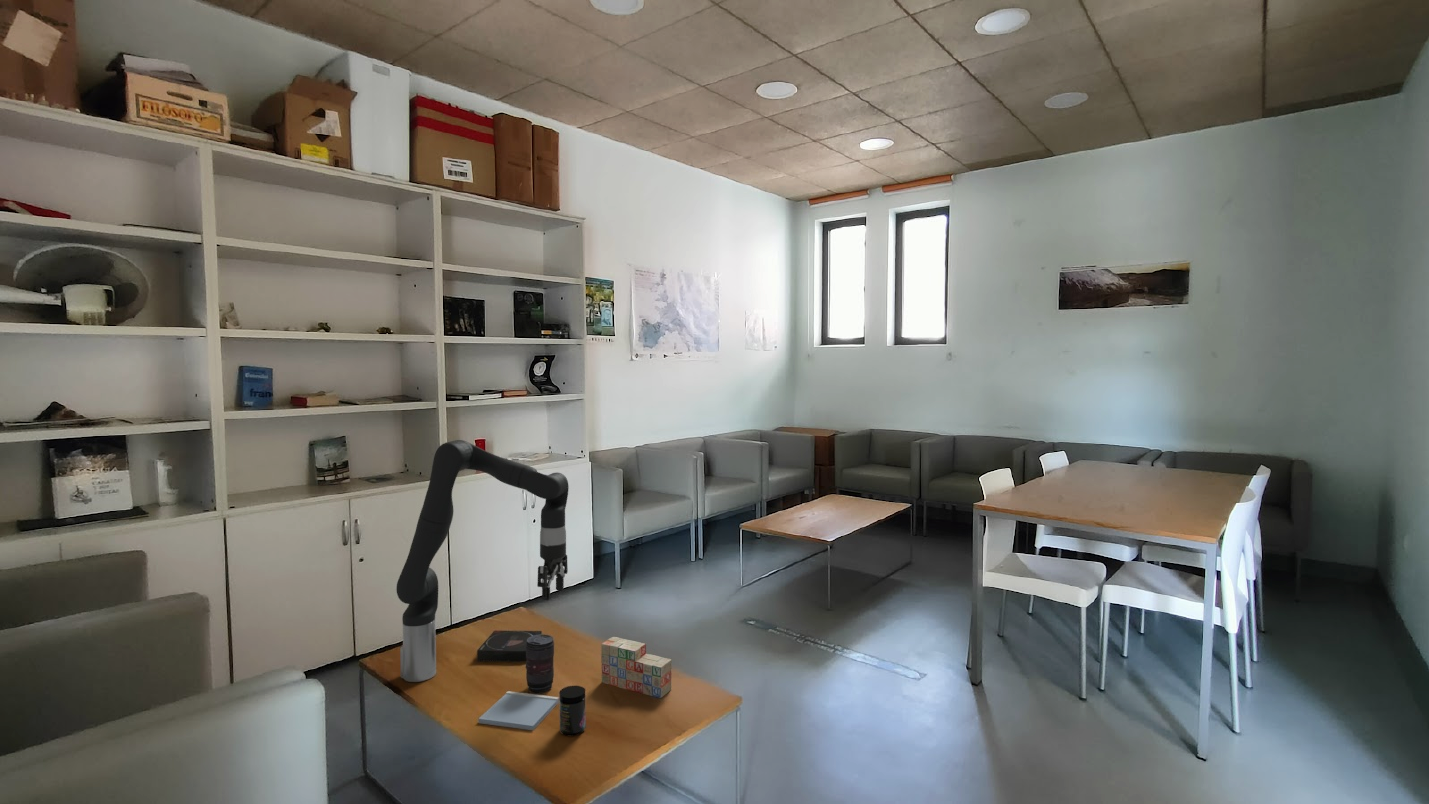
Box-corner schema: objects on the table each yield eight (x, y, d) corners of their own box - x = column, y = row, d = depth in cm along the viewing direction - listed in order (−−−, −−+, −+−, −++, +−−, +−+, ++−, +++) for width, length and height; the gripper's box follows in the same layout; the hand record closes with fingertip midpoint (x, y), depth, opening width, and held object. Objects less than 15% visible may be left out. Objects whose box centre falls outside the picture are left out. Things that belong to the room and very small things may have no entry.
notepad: (478, 723, 179) (478, 717, 179) (507, 696, 194) (507, 691, 194) (533, 730, 176) (533, 724, 176) (558, 702, 191) (558, 697, 190)
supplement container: (579, 738, 172) (579, 699, 172) (555, 735, 173) (554, 696, 173) (589, 724, 179) (589, 686, 178) (565, 722, 180) (565, 684, 180)
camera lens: (547, 696, 194) (546, 645, 193) (521, 693, 196) (520, 643, 195) (559, 683, 202) (558, 634, 201) (534, 680, 204) (533, 632, 203)
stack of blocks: (672, 690, 198) (672, 649, 198) (660, 699, 193) (660, 657, 192) (613, 674, 208) (613, 635, 208) (600, 682, 203) (600, 642, 202)
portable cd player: (529, 663, 217) (529, 651, 217) (477, 662, 217) (477, 650, 217) (543, 642, 233) (543, 631, 233) (494, 641, 233) (494, 630, 233)
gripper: (552, 534, 206) (552, 586, 207) (529, 546, 192) (529, 601, 193) (575, 536, 204) (575, 588, 205) (553, 548, 190) (553, 604, 191)
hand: (553, 594), depth 199 cm, fingers open, 8 cm apart
